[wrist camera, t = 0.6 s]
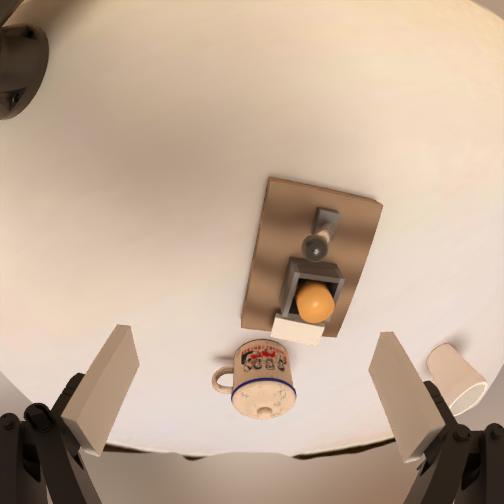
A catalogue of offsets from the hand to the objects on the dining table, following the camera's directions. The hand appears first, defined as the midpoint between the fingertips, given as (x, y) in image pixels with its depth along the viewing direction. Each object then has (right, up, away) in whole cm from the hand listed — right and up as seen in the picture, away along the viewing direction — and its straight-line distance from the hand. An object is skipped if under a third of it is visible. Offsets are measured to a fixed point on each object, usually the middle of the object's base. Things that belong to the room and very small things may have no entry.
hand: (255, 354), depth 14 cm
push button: (+7, 0, +20) cm, 21 cm away
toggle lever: (+8, +8, +17) cm, 21 cm away
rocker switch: (+6, -5, +23) cm, 24 cm away
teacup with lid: (0, -12, +31) cm, 33 cm away
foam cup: (+38, -16, +34) cm, 53 cm away
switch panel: (+7, +4, +24) cm, 25 cm away
